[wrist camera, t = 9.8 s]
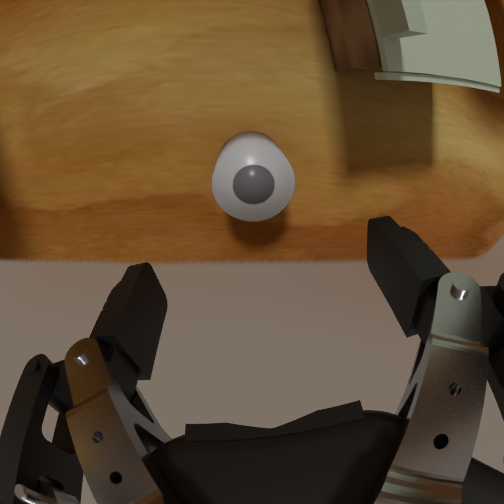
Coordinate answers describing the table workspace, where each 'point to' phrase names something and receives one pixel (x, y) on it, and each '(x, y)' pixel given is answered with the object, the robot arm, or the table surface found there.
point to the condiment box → (351, 34)
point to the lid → (436, 42)
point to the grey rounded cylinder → (252, 177)
